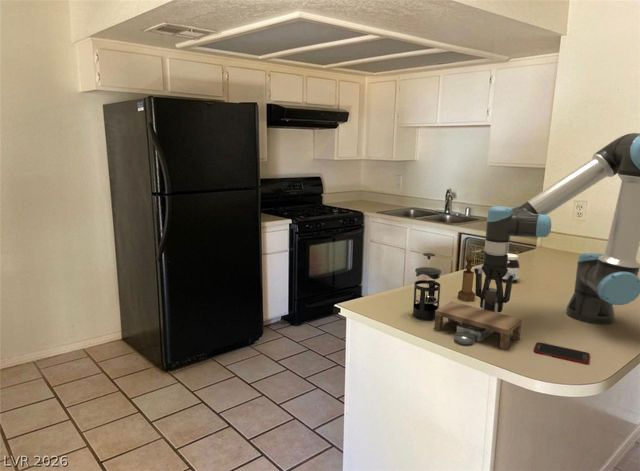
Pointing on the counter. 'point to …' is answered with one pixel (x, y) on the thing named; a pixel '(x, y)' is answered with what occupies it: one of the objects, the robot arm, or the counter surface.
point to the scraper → (489, 305)
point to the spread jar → (512, 266)
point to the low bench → (480, 320)
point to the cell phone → (562, 353)
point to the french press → (426, 302)
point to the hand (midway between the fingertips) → (490, 318)
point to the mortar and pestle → (467, 282)
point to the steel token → (464, 338)
